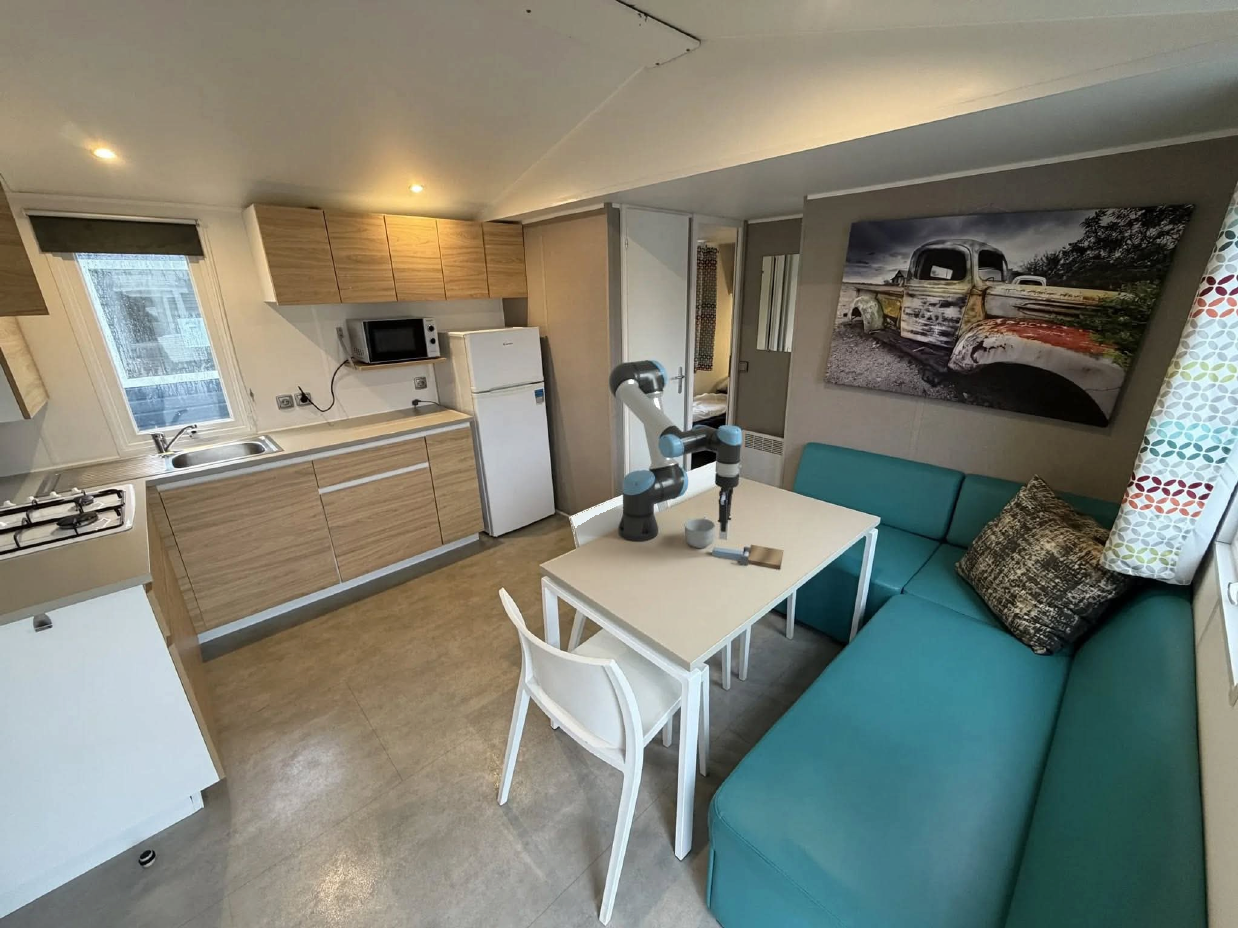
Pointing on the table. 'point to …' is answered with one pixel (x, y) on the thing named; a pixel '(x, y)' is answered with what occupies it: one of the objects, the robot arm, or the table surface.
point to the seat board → (765, 556)
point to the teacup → (700, 532)
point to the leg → (728, 553)
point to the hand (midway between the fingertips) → (723, 538)
